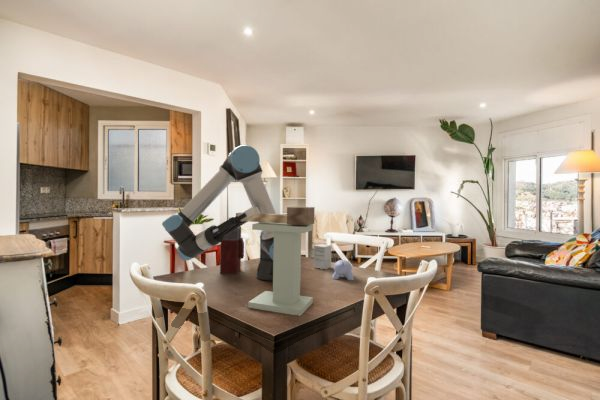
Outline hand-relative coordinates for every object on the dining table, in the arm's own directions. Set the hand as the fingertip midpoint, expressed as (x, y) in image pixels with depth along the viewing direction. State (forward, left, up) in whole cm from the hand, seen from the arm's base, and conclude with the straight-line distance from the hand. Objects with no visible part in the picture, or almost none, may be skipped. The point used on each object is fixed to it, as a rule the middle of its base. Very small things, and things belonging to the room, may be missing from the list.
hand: (255, 210), depth 120 cm
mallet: (+7, +2, -4) cm, 8 cm away
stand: (+11, +3, -35) cm, 37 cm away
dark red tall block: (-39, +25, -35) cm, 58 cm away
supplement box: (-7, +62, -35) cm, 72 cm away
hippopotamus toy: (+11, +53, -35) cm, 64 cm away
